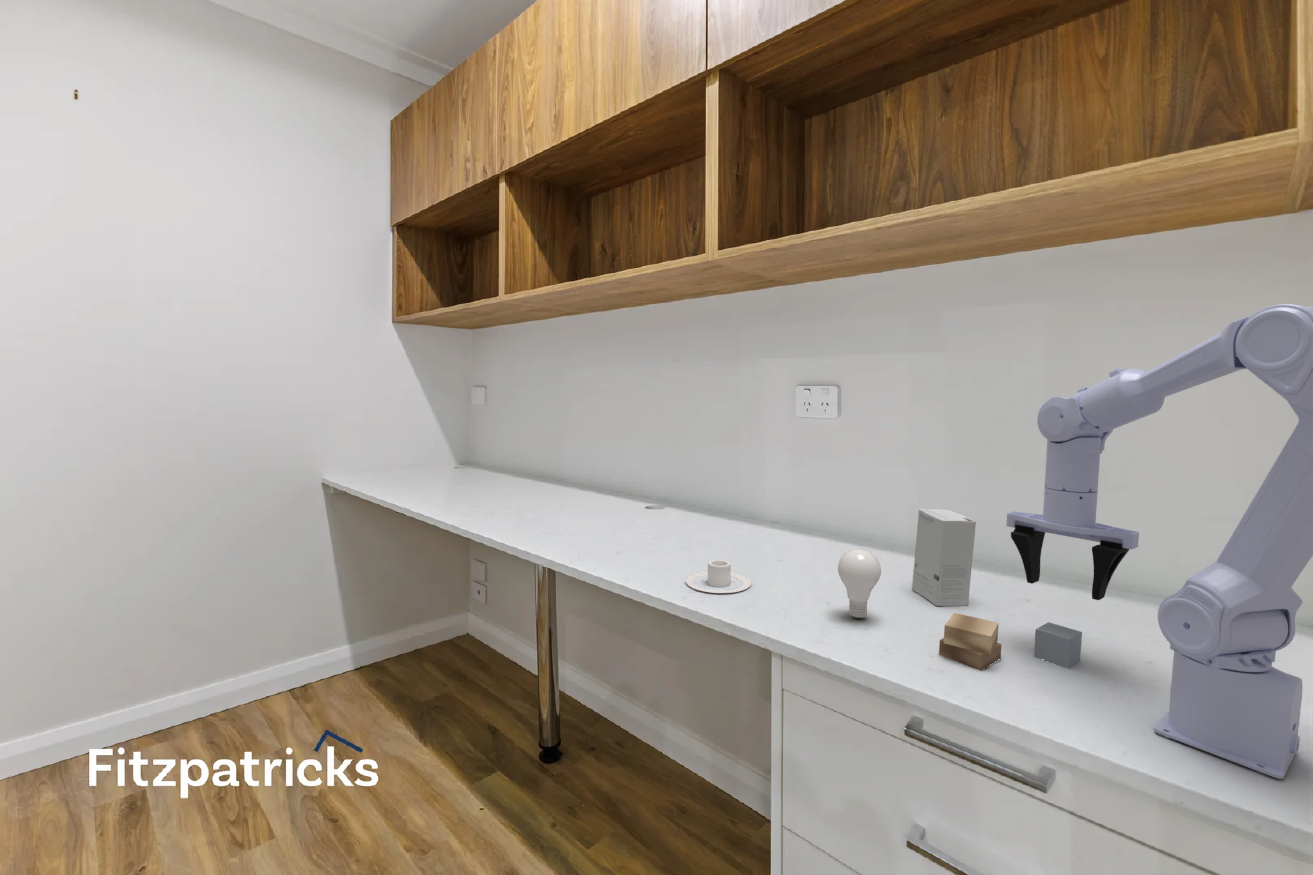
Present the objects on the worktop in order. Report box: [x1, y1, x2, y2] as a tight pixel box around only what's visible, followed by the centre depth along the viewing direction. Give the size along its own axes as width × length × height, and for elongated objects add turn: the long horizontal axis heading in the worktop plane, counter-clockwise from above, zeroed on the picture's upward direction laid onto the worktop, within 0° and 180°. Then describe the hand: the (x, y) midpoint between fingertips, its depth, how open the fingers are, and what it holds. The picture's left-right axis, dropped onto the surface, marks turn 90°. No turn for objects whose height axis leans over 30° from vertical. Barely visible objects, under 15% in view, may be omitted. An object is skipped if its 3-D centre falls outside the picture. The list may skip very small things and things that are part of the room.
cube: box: [1033, 621, 1083, 669], centre depth 79 cm, size 4×4×4 cm
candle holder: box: [684, 559, 752, 594], centre depth 109 cm, size 12×12×4 cm
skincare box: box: [911, 508, 977, 607], centre depth 101 cm, size 8×6×15 cm
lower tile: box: [938, 637, 1002, 671], centre depth 80 cm, size 6×6×2 cm
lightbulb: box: [837, 548, 882, 620], centre depth 92 cm, size 6×6×11 cm
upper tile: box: [943, 612, 999, 655], centre depth 79 cm, size 6×6×2 cm
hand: (1064, 589), depth 79 cm, fingers open, 7 cm apart
